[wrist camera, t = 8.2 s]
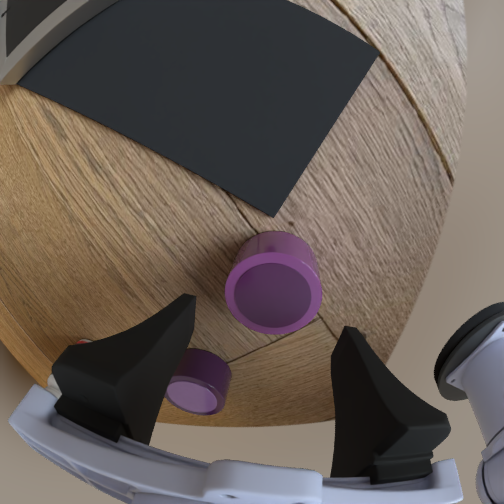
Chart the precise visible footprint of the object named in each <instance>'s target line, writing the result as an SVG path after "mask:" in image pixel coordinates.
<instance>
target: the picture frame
mask: <svg viewBox="0 0 504 504" xmlns="http://www.w3.org/2000/svg"><path fill="white" fill-rule="evenodd" d="M117 1H118V0H0V85H15V84H16V83H17V82H18V81H19V80H20V79H21V78H22V77H23V76H24V75H25V74H26V73H27V72H28V71H29V70H30V69H31V68H32V67H33V66H34V65H35V64H36V63H37V62H38V61H39V60H40V59H41V58H42V57H43V56H44V55H46V54H47V53H48V52H49V51H50V50H51V49H52V48H53V47H55V46H56V45H57V44H58V43H59V42H61V41H62V40H63V39H64V38H65V37H67V36H68V35H69V34H71V33H72V32H73V31H74V30H76V29H77V28H78V27H80V26H81V25H82V24H84V23H85V22H87V21H88V20H89V19H91V18H92V17H94V16H95V15H97V14H98V13H100V12H101V11H103V10H104V9H106V8H107V7H109V6H110V5H112V4H114V3H115V2H117Z"/></svg>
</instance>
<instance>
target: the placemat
mask: <svg viewBox="0 0 504 504" xmlns="http://www.w3.org/2000/svg"><path fill="white" fill-rule="evenodd" d="M379 53H380V52H379V51H378V50H376V49H375V48H373V47H372V46H370V45H369V44H367V43H366V42H364V41H363V40H361V39H360V38H358V37H356V36H355V35H353V34H351V33H350V32H348V31H346V30H345V29H343V28H341V27H340V26H338V25H336V24H334V23H332V22H331V21H329V20H327V19H325V18H323V17H321V16H319V15H317V14H315V13H313V12H311V11H309V10H307V9H305V8H303V7H301V6H299V5H296V4H294V3H292V2H290V1H287V0H118V1H117V2H115V3H114V4H112V5H110V6H109V7H107V8H106V9H104V10H103V11H101V12H100V13H98V14H97V15H95V16H94V17H92V18H91V19H89V20H88V21H87V22H85V23H84V24H82V25H81V26H80V27H78V28H77V29H76V30H74V31H73V32H72V33H71V34H69V35H68V36H67V37H65V38H64V39H63V40H62V41H61V42H59V43H58V44H57V45H56V46H55V47H53V48H52V49H51V50H50V51H49V52H48V53H47V54H46V55H44V56H43V57H42V58H41V59H40V60H39V61H38V62H37V63H36V64H35V65H34V66H33V67H32V68H31V69H30V70H29V71H28V72H27V73H26V74H25V75H24V76H23V77H22V78H21V79H20V80H19V81H18V82H17V83H16V84H17V85H20V86H22V87H24V88H26V89H29V90H31V91H33V92H35V93H38V94H40V95H42V96H44V97H46V98H49V99H51V100H53V101H55V102H57V103H59V104H62V105H64V106H66V107H68V108H70V109H72V110H74V111H76V112H78V113H81V114H83V115H85V116H87V117H89V118H91V119H93V120H95V121H97V122H99V123H101V124H103V125H105V126H107V127H109V128H111V129H113V130H115V131H117V132H119V133H121V134H123V135H125V136H127V137H129V138H131V139H133V140H134V141H136V142H138V143H140V144H142V145H144V146H146V147H148V148H150V149H152V150H154V151H155V152H157V153H159V154H161V155H163V156H165V157H167V158H169V159H170V160H172V161H174V162H176V163H178V164H180V165H181V166H183V167H185V168H187V169H189V170H191V171H192V172H194V173H196V174H198V175H200V176H201V177H203V178H205V179H207V180H209V181H210V182H212V183H214V184H216V185H217V186H219V187H221V188H223V189H224V190H226V191H228V192H230V193H231V194H233V195H235V196H237V197H238V198H240V199H242V200H244V201H245V202H247V203H249V204H250V205H252V206H254V207H256V208H257V209H259V210H261V211H262V212H264V213H266V214H267V215H269V216H271V217H272V218H274V217H275V215H276V214H277V212H278V210H279V209H280V207H281V206H282V204H283V203H284V201H285V200H286V198H287V196H288V195H289V193H290V192H291V190H292V189H293V187H294V186H295V184H296V182H297V181H298V179H299V178H300V176H301V175H302V173H303V172H304V170H305V168H306V167H307V165H308V164H309V162H310V161H311V159H312V157H313V156H314V154H315V153H316V151H317V150H318V148H319V147H320V145H321V143H322V142H323V140H324V139H325V137H326V136H327V134H328V133H329V131H330V129H331V128H332V126H333V125H334V123H335V122H336V120H337V119H338V117H339V115H340V114H341V112H342V111H343V109H344V108H345V106H346V105H347V103H348V101H349V100H350V98H351V97H352V95H353V94H354V92H355V91H356V89H357V87H358V86H359V84H360V83H361V81H362V80H363V78H364V77H365V75H366V73H367V72H368V70H369V69H370V67H371V66H372V64H373V63H374V61H375V59H376V58H377V56H378V55H379Z"/></svg>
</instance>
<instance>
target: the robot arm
mask: <svg viewBox="0 0 504 504" xmlns="http://www.w3.org/2000/svg"><path fill="white" fill-rule="evenodd" d="M195 308H196V296H193V295H189V294H185V293H184V294H182V295H181V296H180V297H178V298H177V299H176V300H174V301H173V302H172V303H170V304H169V305H168V306H166V307H165V308H163V309H162V310H160V311H159V312H158V313H156V314H155V315H153V316H152V317H150V318H148V319H147V320H145V321H143V322H142V323H140V324H138V325H136V326H134V327H132V328H130V329H128V330H126V331H123V332H121V333H118V334H115V335H113V336H110V337H107V338H104V339H100V340H97V341H93V342H88V343H82V344H76V345H69V346H68V347H67V348H66V349H65V350H64V351H63V353H62V354H61V355H60V356H59V358H58V359H57V360H56V362H55V363H54V364H53V366H52V373H53V376H54V379H55V381H56V383H57V385H58V387H59V389H60V391H61V393H62V395H61V396H60V398H59V399H58V398H57V397H56V396H55V395H54V394H52V393H51V392H49V391H47V390H46V389H44V388H42V387H41V386H39V385H37V384H34V385H33V386H32V387H31V389H30V390H29V391H28V393H27V394H26V395H25V397H24V398H23V399H22V401H21V402H20V403H19V405H18V406H17V408H16V409H15V411H14V412H13V413H12V415H11V416H10V418H9V419H8V422H9V423H10V425H11V426H12V427H13V428H14V429H15V431H16V432H17V433H18V434H19V435H20V436H21V437H22V438H23V440H24V441H25V442H26V443H27V444H28V445H29V446H30V447H31V448H32V449H33V450H35V451H36V452H38V453H39V454H41V455H42V456H44V457H45V458H47V459H48V460H50V461H51V462H53V463H54V464H56V465H57V466H59V467H60V468H62V469H64V470H65V471H67V472H69V473H70V474H72V475H74V476H75V477H77V478H78V479H80V480H82V481H84V482H85V483H87V484H89V485H91V486H93V487H94V488H96V489H98V490H100V491H102V492H104V493H106V494H108V495H110V496H112V497H114V498H116V499H118V500H121V501H123V502H125V503H127V504H456V503H457V502H459V501H461V500H462V499H463V494H462V489H461V485H460V480H459V476H458V472H457V468H456V464H455V460H454V459H453V458H452V459H447V460H442V461H438V462H435V463H433V464H431V461H430V459H431V458H433V452H432V450H433V449H435V448H436V447H437V446H438V445H439V444H440V443H441V442H443V441H444V440H445V439H446V438H447V437H448V435H449V433H450V431H451V427H450V424H449V421H448V418H447V415H446V414H445V413H443V412H442V411H440V410H438V409H436V408H434V407H433V406H431V405H429V404H428V403H426V402H425V401H423V400H422V399H420V398H419V397H418V396H416V395H415V394H414V393H412V392H411V391H410V390H409V389H408V388H407V387H405V386H404V385H403V384H402V383H401V382H400V381H399V380H398V379H397V378H396V377H395V376H394V375H393V374H392V373H391V372H390V371H389V369H388V368H387V367H386V366H385V365H384V364H383V362H382V361H381V360H380V359H379V357H378V356H377V355H376V354H375V352H374V351H373V350H372V348H371V347H370V345H369V344H368V343H367V341H366V340H365V339H364V337H363V336H362V334H361V333H360V332H359V330H358V329H357V328H355V327H349V326H344V329H343V331H342V333H341V335H340V338H339V340H338V342H337V344H336V346H335V348H334V350H333V352H332V355H331V379H332V388H333V396H334V405H335V442H334V454H333V462H332V469H331V475H330V478H322V475H321V474H320V473H318V472H316V471H314V470H309V469H303V468H291V467H280V466H272V465H264V464H257V463H250V462H244V461H237V460H217V461H214V462H212V463H211V464H210V463H206V462H202V461H198V460H194V459H190V458H187V457H182V456H180V455H176V454H173V453H170V452H166V451H163V450H160V449H157V448H154V447H151V446H149V443H150V439H151V436H152V432H153V429H154V426H155V422H156V419H157V416H158V413H159V410H160V407H161V404H162V401H163V398H164V396H165V393H166V390H167V387H168V385H169V383H170V380H171V378H172V376H173V374H174V372H175V370H176V368H177V366H178V365H179V363H180V361H181V359H182V357H183V355H184V353H185V351H186V349H187V347H188V344H189V342H190V339H191V336H192V333H193V330H194V323H195ZM446 382H447V383H449V384H451V385H453V386H455V387H457V388H459V389H461V390H463V391H465V393H466V395H467V397H468V399H469V402H470V404H471V407H472V409H473V411H474V414H475V416H476V419H477V421H478V424H479V426H480V429H481V432H482V435H483V438H484V440H485V443H486V446H487V448H485V449H484V450H483V451H482V452H481V454H482V456H483V460H482V461H481V462H480V464H479V466H478V470H477V474H476V489H477V493H478V496H479V498H480V500H481V502H482V503H483V504H504V321H501V322H500V323H499V324H498V325H497V326H496V327H495V328H494V329H493V331H492V332H491V333H490V334H489V335H488V336H487V337H486V338H485V340H484V341H483V342H482V343H481V344H480V345H479V346H478V347H477V348H476V349H475V350H474V351H473V352H472V353H471V354H470V355H469V356H468V357H467V358H466V359H465V360H464V361H463V362H462V363H461V364H460V365H459V366H458V367H457V368H456V369H455V370H454V371H452V372H451V373H450V374H449V375H448V376H447V377H446Z"/></svg>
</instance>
